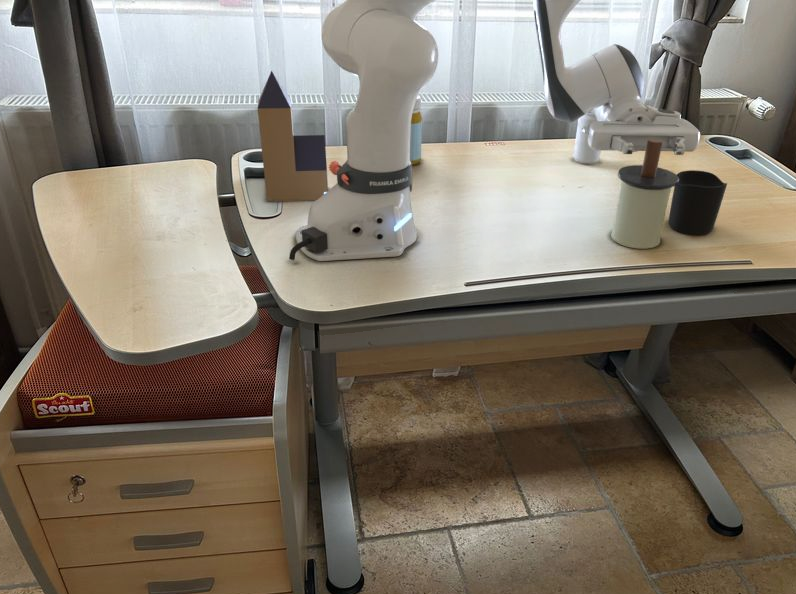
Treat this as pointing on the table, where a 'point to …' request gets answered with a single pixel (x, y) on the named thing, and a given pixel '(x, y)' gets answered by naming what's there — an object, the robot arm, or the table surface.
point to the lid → (649, 170)
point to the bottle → (416, 133)
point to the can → (640, 216)
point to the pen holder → (696, 202)
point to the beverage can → (585, 141)
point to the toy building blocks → (288, 150)
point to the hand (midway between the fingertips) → (654, 150)
